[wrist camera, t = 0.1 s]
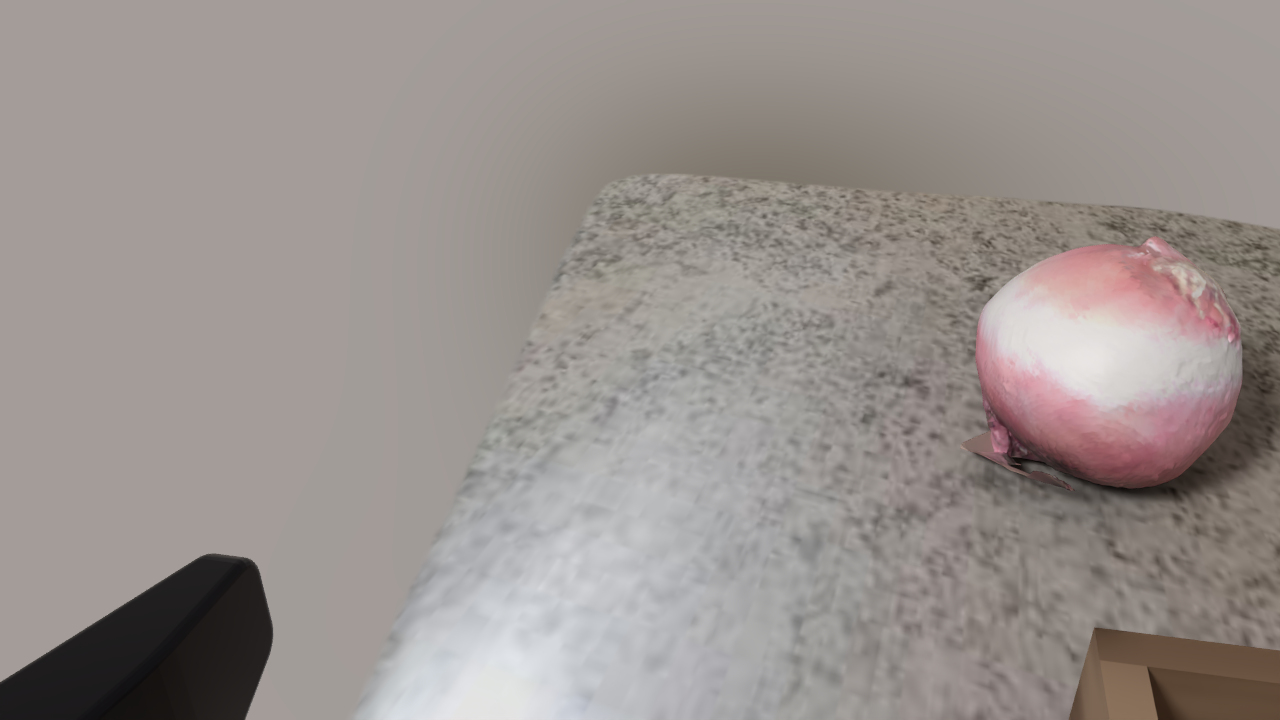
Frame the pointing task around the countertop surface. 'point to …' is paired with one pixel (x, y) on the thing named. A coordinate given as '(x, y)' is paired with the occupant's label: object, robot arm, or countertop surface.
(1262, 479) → the countertop surface
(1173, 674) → the tray
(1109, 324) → the onion
